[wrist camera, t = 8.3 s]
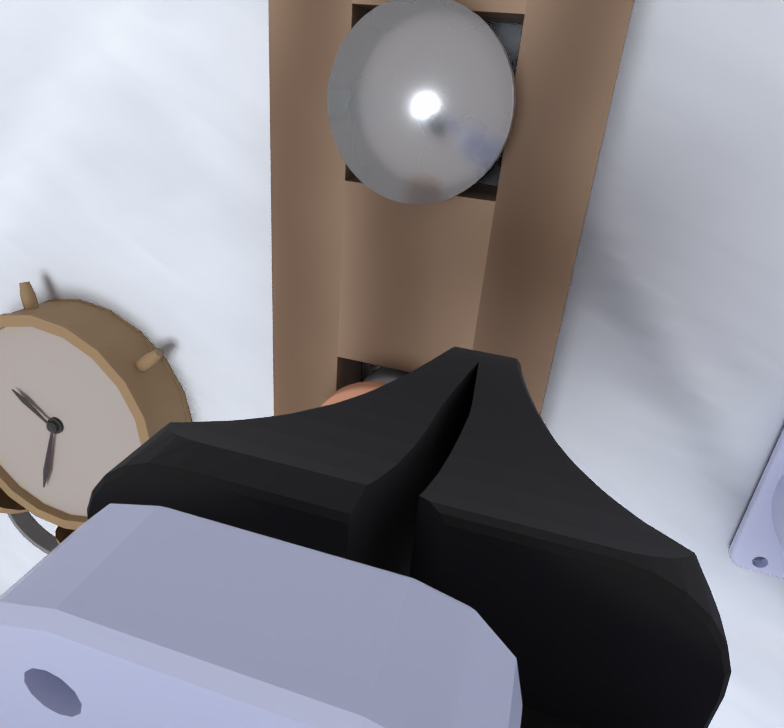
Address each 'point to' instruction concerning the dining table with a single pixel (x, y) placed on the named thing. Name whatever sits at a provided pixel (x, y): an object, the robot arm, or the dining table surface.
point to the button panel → (431, 209)
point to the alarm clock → (73, 408)
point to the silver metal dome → (421, 99)
